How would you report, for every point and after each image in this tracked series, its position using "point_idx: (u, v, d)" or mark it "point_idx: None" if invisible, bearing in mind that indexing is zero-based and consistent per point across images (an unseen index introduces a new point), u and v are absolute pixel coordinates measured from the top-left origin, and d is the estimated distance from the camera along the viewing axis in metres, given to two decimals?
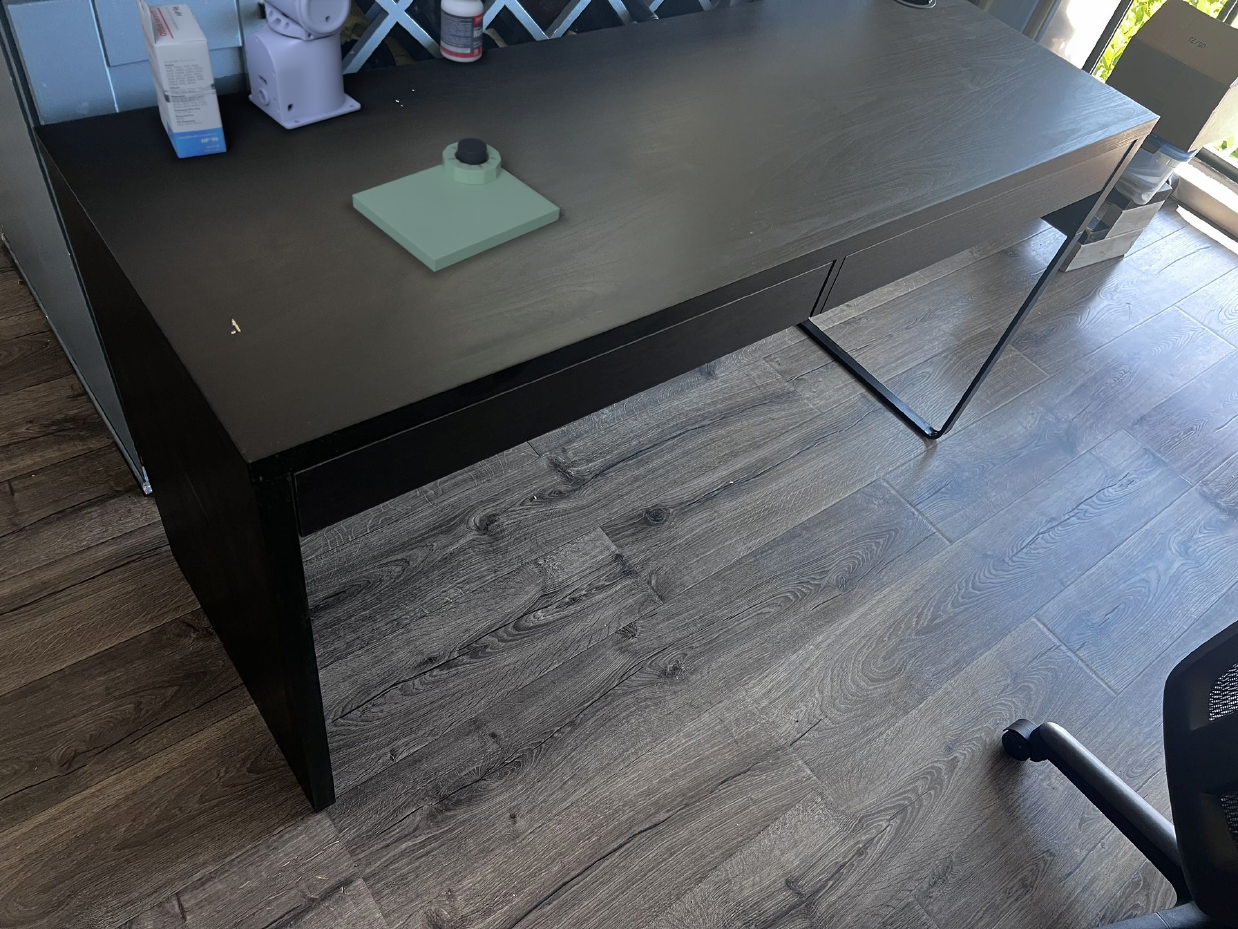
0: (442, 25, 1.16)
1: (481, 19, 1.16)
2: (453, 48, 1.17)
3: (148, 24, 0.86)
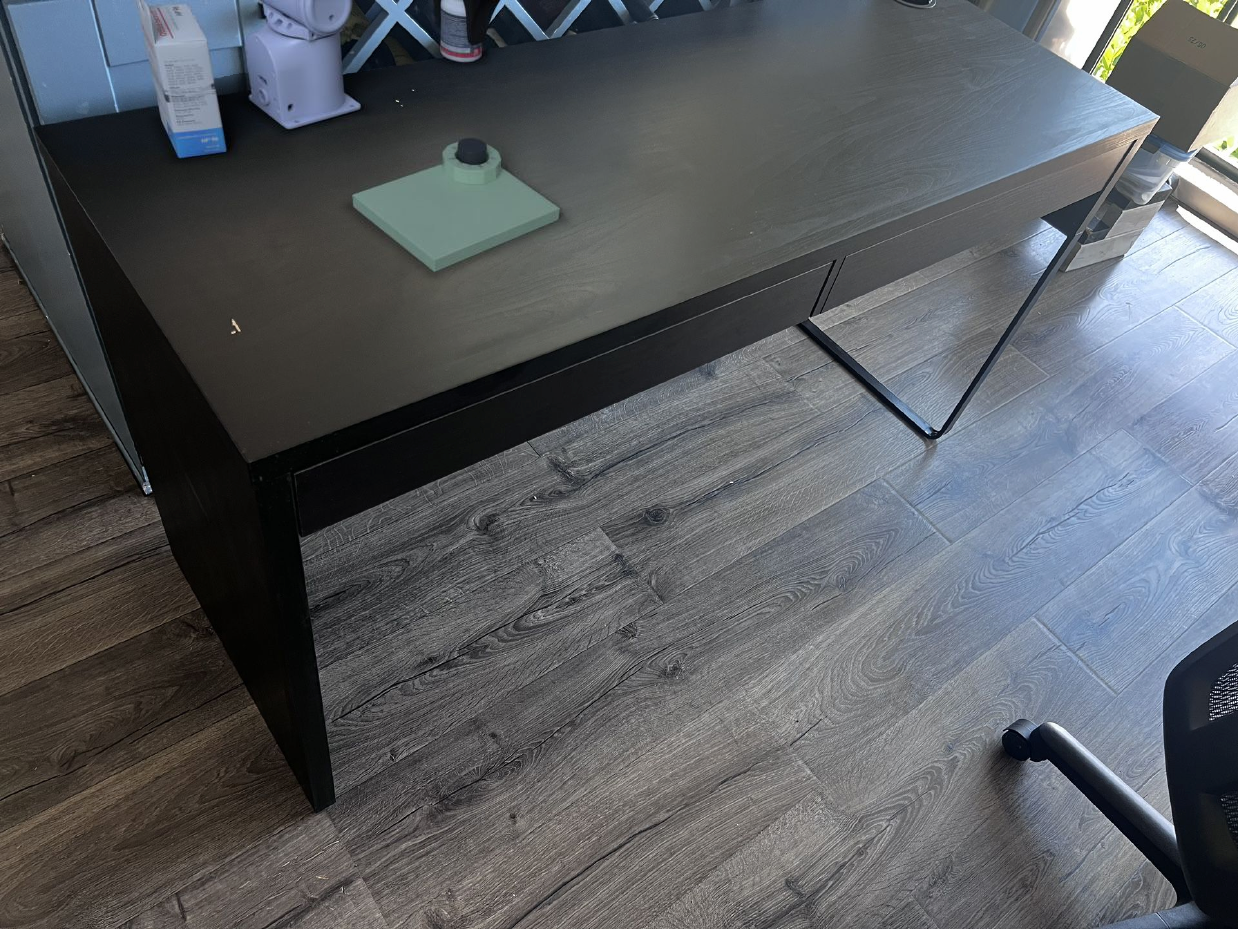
0: (442, 25, 1.16)
1: None
2: (452, 48, 1.17)
3: (148, 24, 0.86)
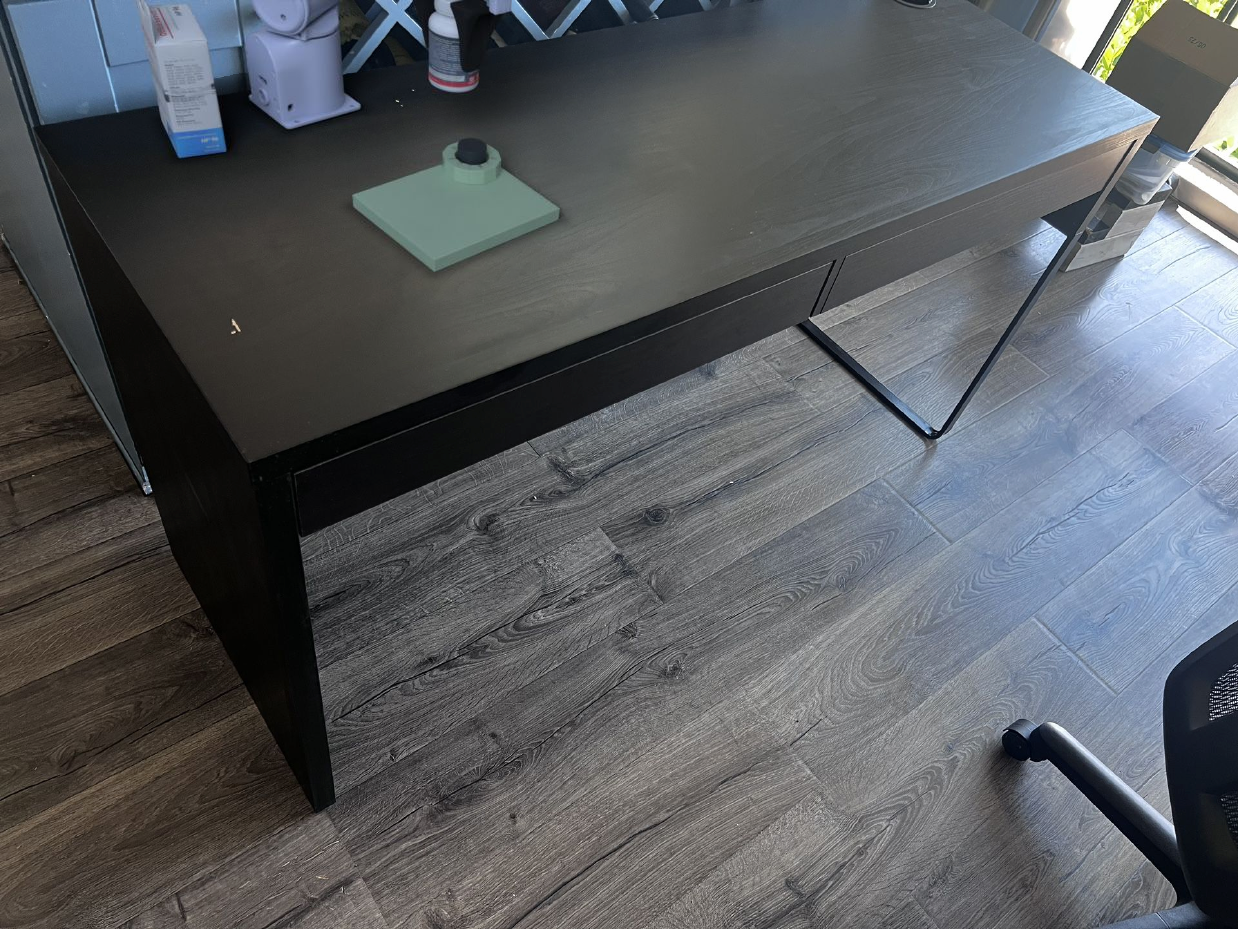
0: (430, 48, 0.96)
1: None
2: (443, 76, 0.97)
3: (148, 24, 0.86)
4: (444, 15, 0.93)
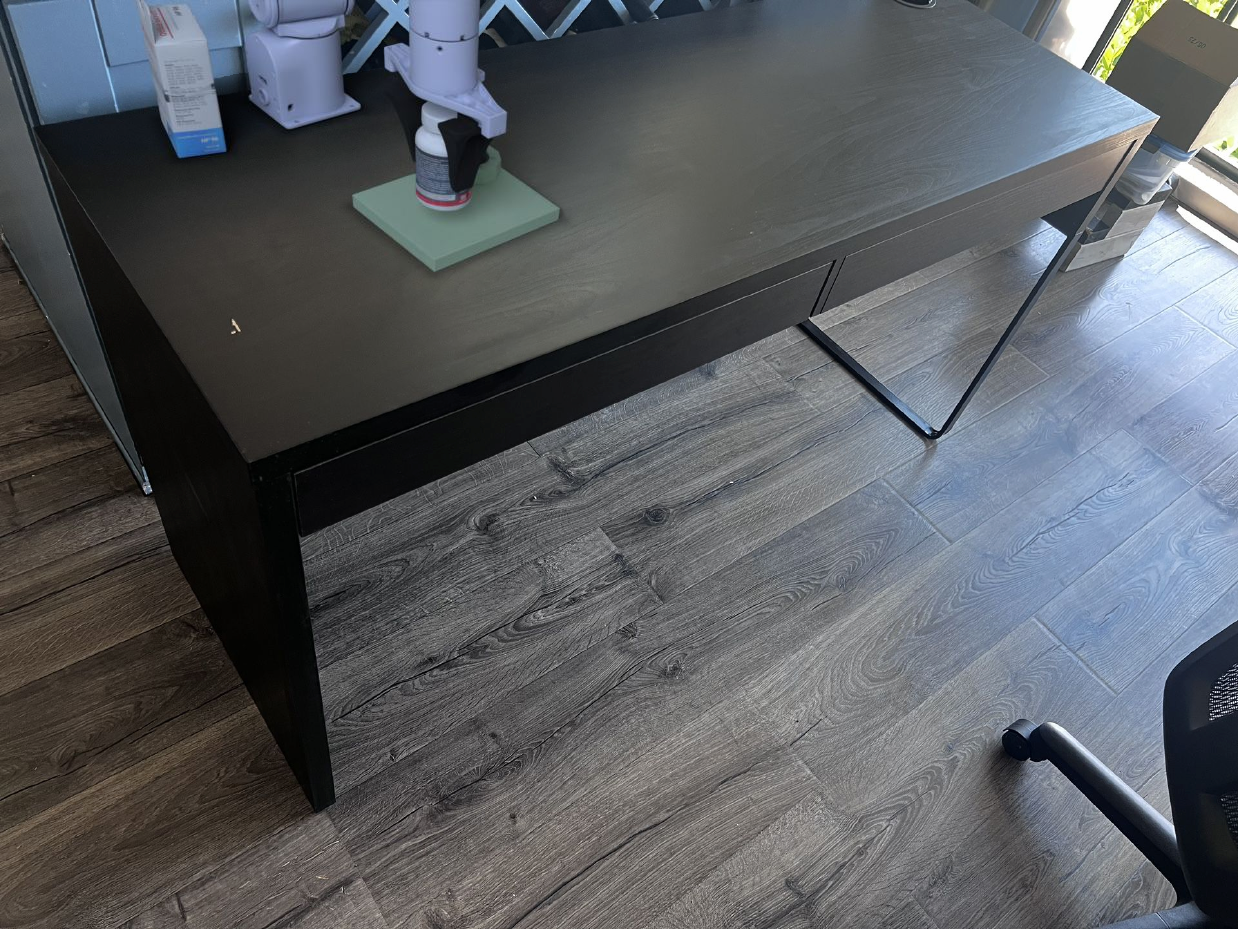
0: (417, 165, 0.86)
1: None
2: (432, 195, 0.87)
3: (148, 24, 0.86)
4: (432, 132, 0.83)
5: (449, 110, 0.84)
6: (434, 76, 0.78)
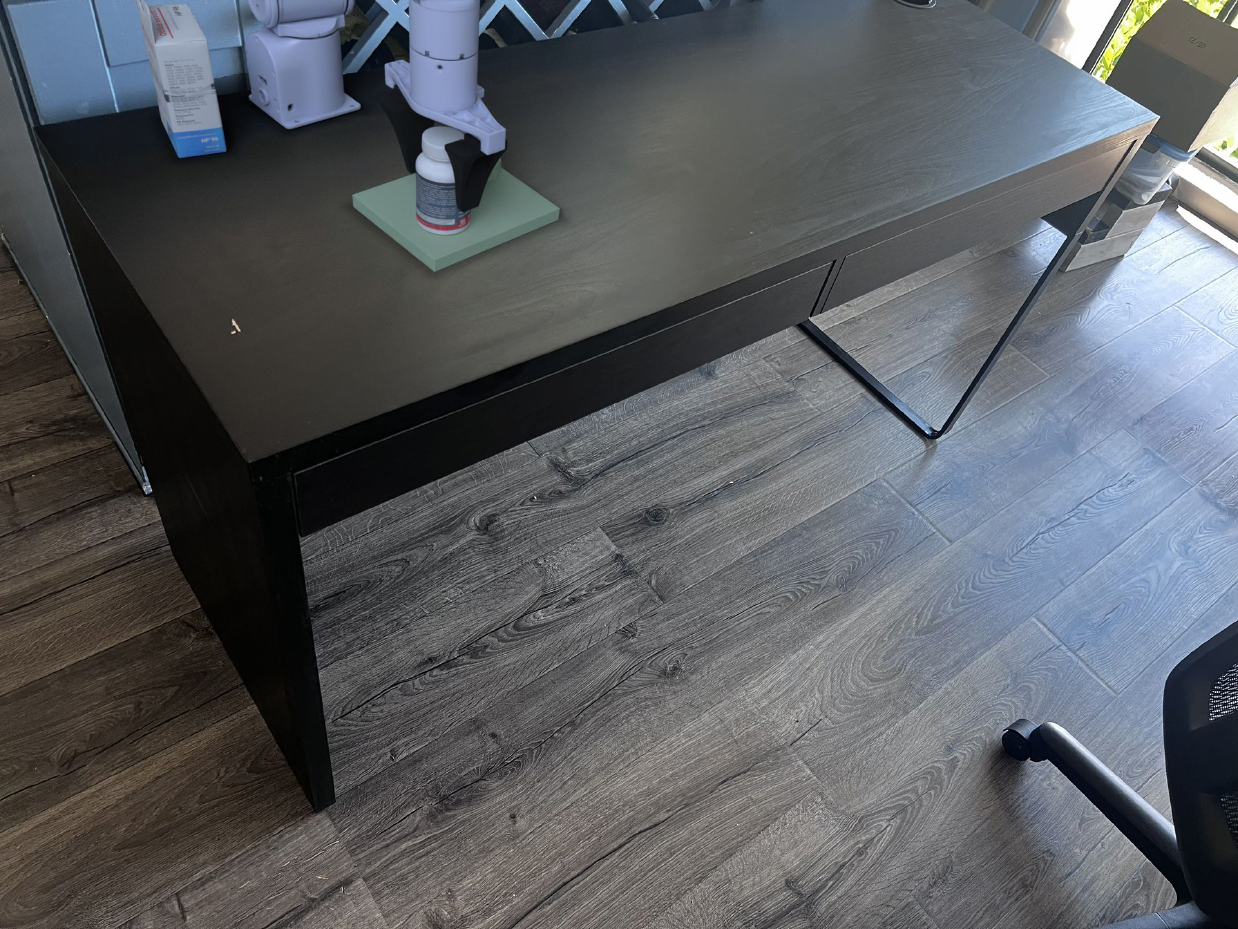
0: (418, 191, 0.88)
1: None
2: (432, 220, 0.89)
3: (148, 24, 0.86)
4: (433, 159, 0.85)
5: (449, 137, 0.85)
6: (434, 94, 0.79)
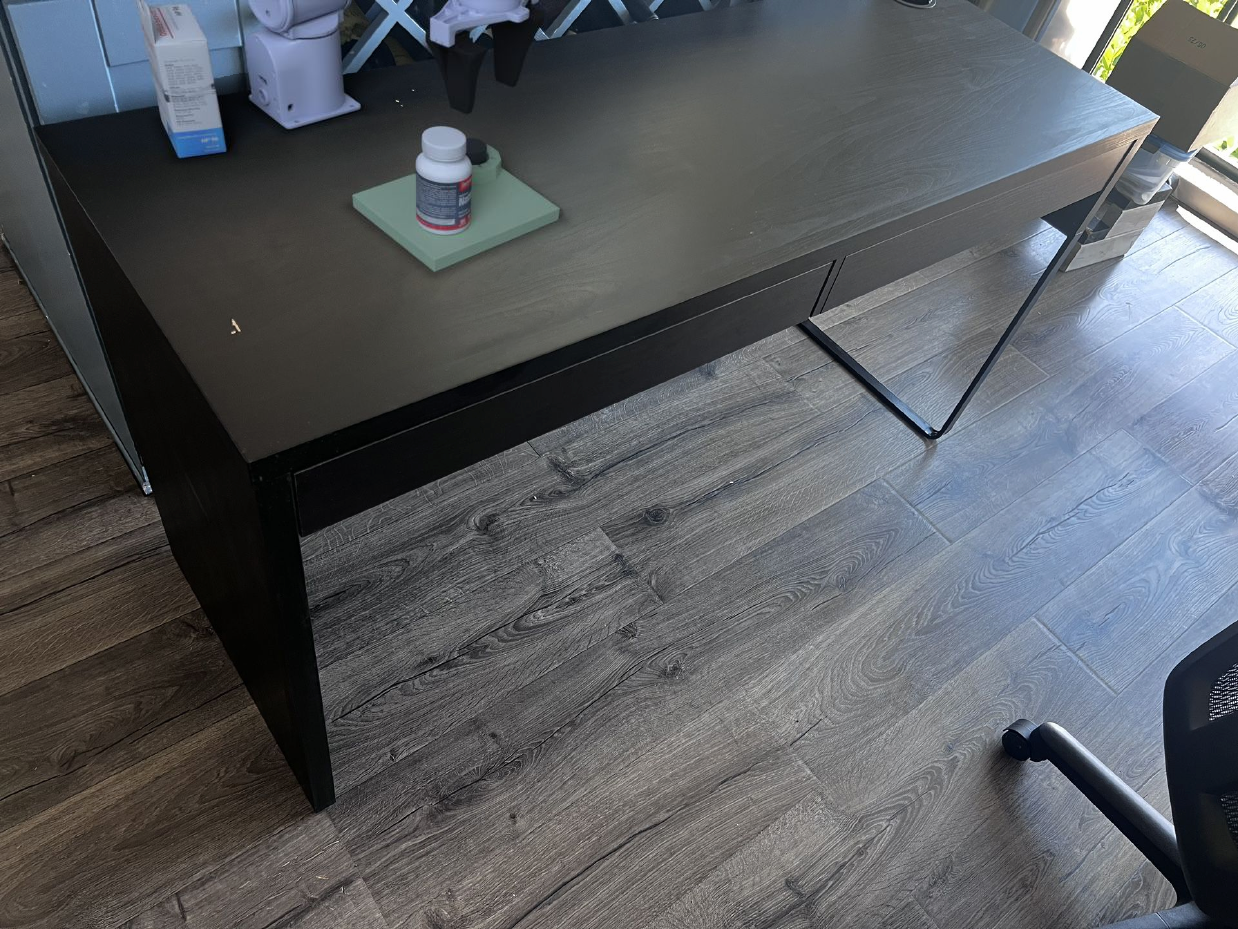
0: (418, 191, 0.88)
1: (469, 182, 0.88)
2: (432, 220, 0.89)
3: (148, 24, 0.86)
4: (433, 159, 0.85)
5: (449, 137, 0.85)
6: None
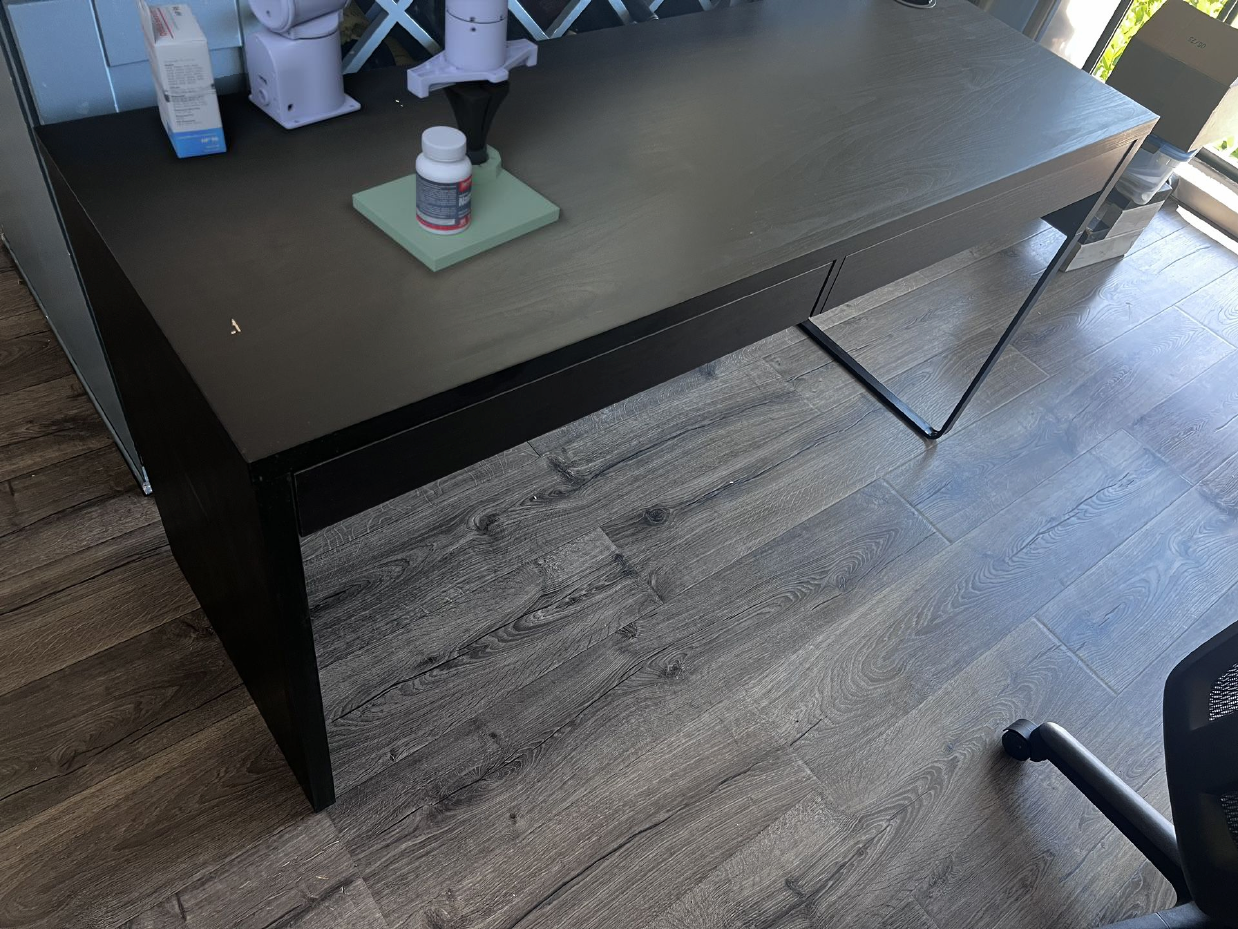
0: (418, 191, 0.88)
1: (469, 182, 0.88)
2: (432, 220, 0.89)
3: (148, 24, 0.86)
4: (432, 159, 0.85)
5: (449, 137, 0.85)
6: None
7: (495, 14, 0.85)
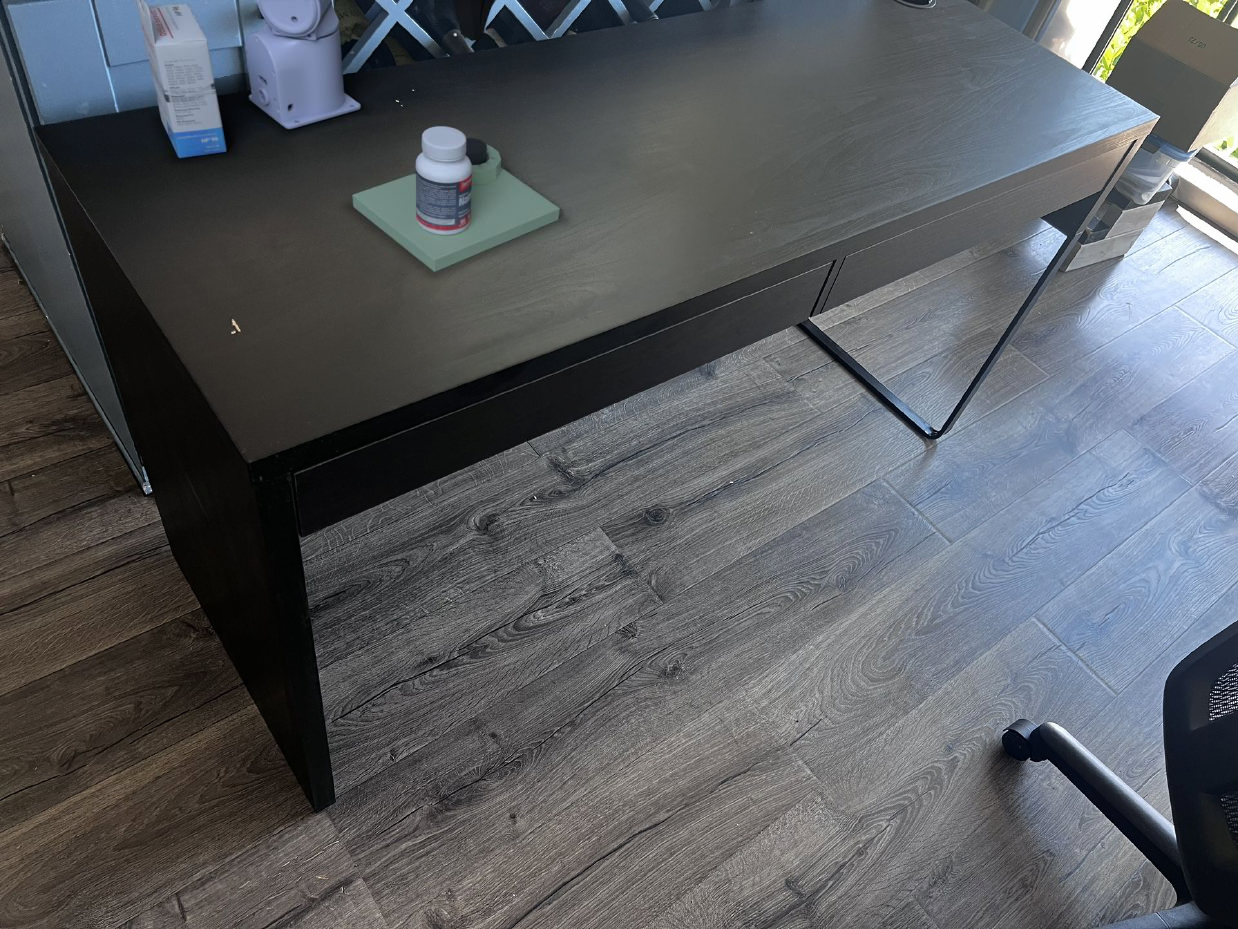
0: (417, 191, 0.88)
1: (469, 182, 0.88)
2: (432, 220, 0.89)
3: (148, 24, 0.86)
4: (432, 159, 0.85)
5: (449, 137, 0.85)
6: None
7: None
